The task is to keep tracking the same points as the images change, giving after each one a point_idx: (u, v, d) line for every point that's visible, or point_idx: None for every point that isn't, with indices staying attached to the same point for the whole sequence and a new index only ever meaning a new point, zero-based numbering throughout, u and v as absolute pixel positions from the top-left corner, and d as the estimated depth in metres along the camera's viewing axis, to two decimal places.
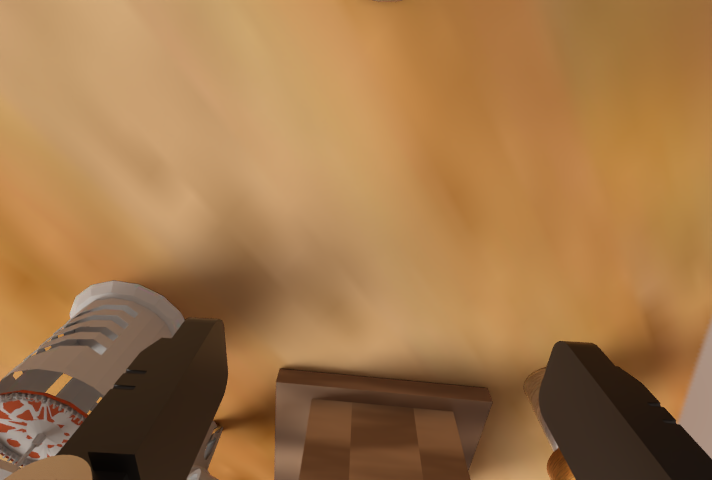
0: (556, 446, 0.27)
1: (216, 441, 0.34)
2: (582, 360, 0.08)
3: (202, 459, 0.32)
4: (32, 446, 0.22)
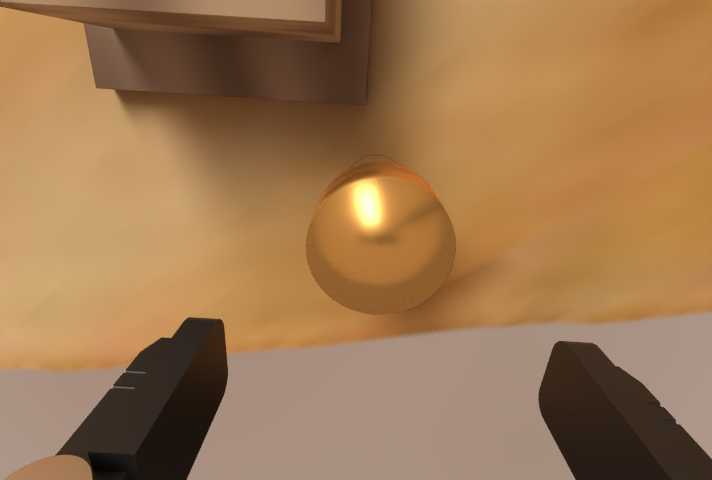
0: None
1: None
2: (582, 360, 0.08)
3: None
4: None
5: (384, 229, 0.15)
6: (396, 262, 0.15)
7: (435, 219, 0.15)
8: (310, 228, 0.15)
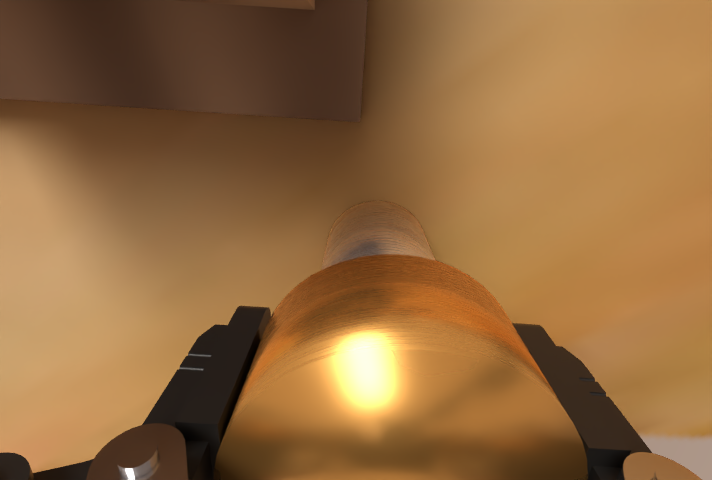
0: None
1: None
2: (525, 339, 0.09)
3: None
4: None
5: (409, 457, 0.06)
6: None
7: (542, 438, 0.06)
8: (220, 454, 0.06)
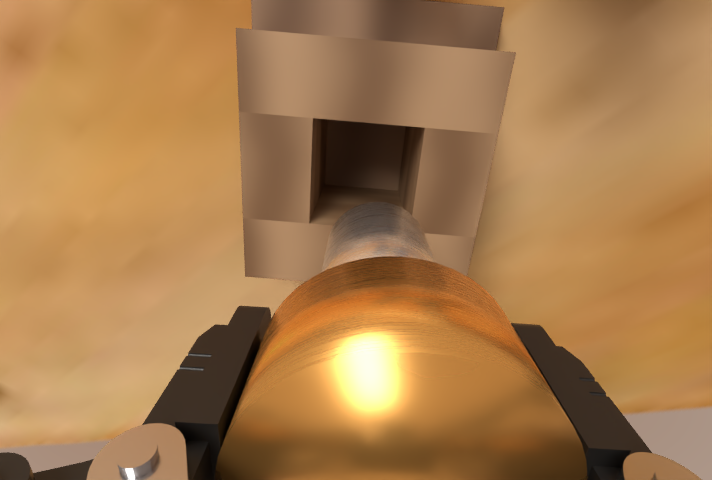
0: None
1: None
2: (525, 339, 0.09)
3: None
4: None
5: (409, 460, 0.06)
6: None
7: (542, 440, 0.06)
8: (222, 456, 0.06)
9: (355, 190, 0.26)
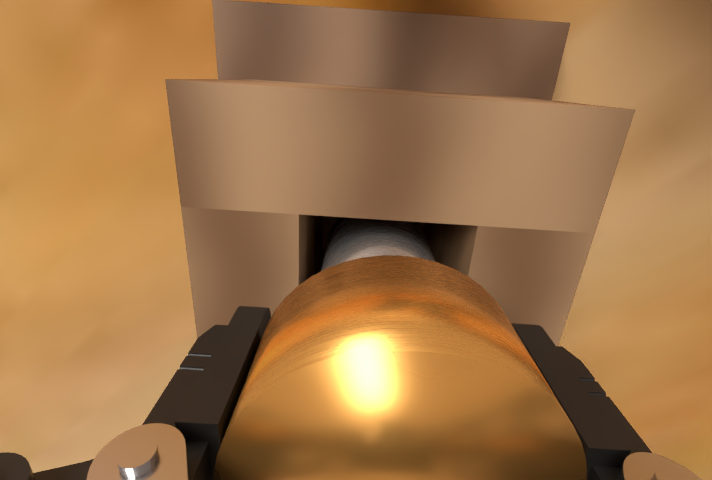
0: None
1: None
2: (525, 339, 0.09)
3: None
4: None
5: (409, 459, 0.06)
6: None
7: (542, 439, 0.06)
8: (221, 455, 0.06)
9: None
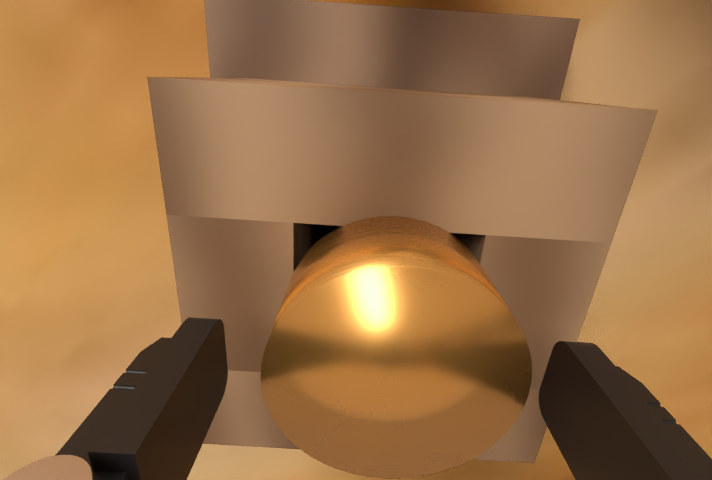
0: None
1: None
2: (582, 360, 0.08)
3: None
4: None
5: (402, 353, 0.08)
6: (423, 404, 0.09)
7: (497, 336, 0.08)
8: (267, 350, 0.08)
9: None
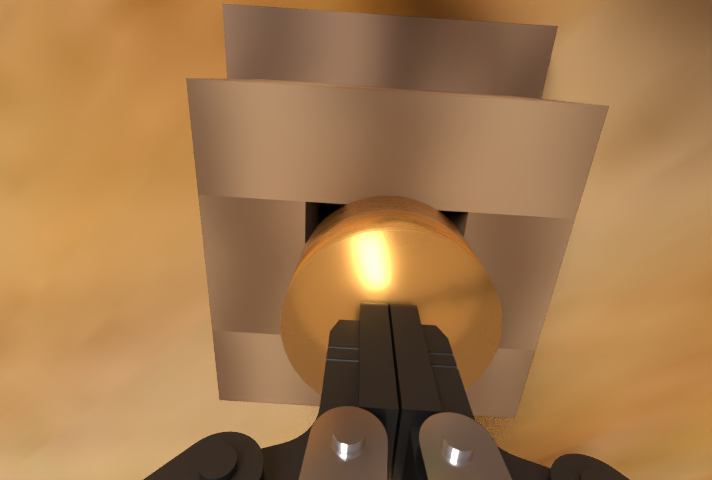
0: None
1: None
2: (394, 317, 0.09)
3: None
4: None
5: (396, 303, 0.10)
6: None
7: (473, 289, 0.10)
8: (286, 301, 0.10)
9: None
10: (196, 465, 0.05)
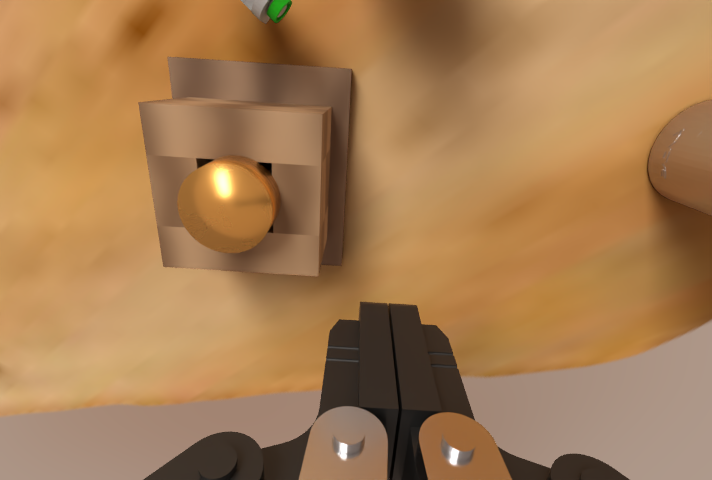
0: None
1: None
2: (394, 317, 0.09)
3: None
4: None
5: (224, 196, 0.24)
6: (235, 218, 0.25)
7: (254, 189, 0.24)
8: (178, 195, 0.24)
9: None
10: (196, 465, 0.05)
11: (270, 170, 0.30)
